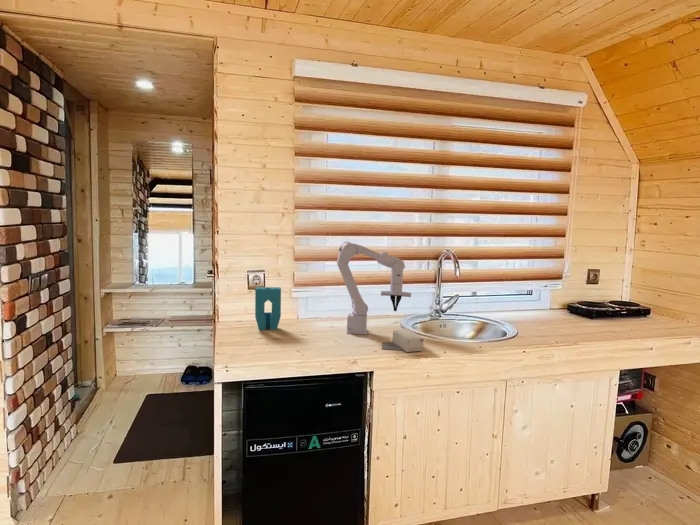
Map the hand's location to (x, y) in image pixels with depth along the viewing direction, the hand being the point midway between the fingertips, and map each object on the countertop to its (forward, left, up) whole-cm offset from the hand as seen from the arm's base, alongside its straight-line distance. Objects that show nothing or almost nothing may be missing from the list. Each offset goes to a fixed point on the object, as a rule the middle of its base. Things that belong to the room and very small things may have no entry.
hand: (395, 310), depth 224 cm
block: (-61, -9, -11) cm, 63 cm away
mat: (+2, -24, -10) cm, 26 cm away
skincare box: (+3, -17, -7) cm, 18 cm away
